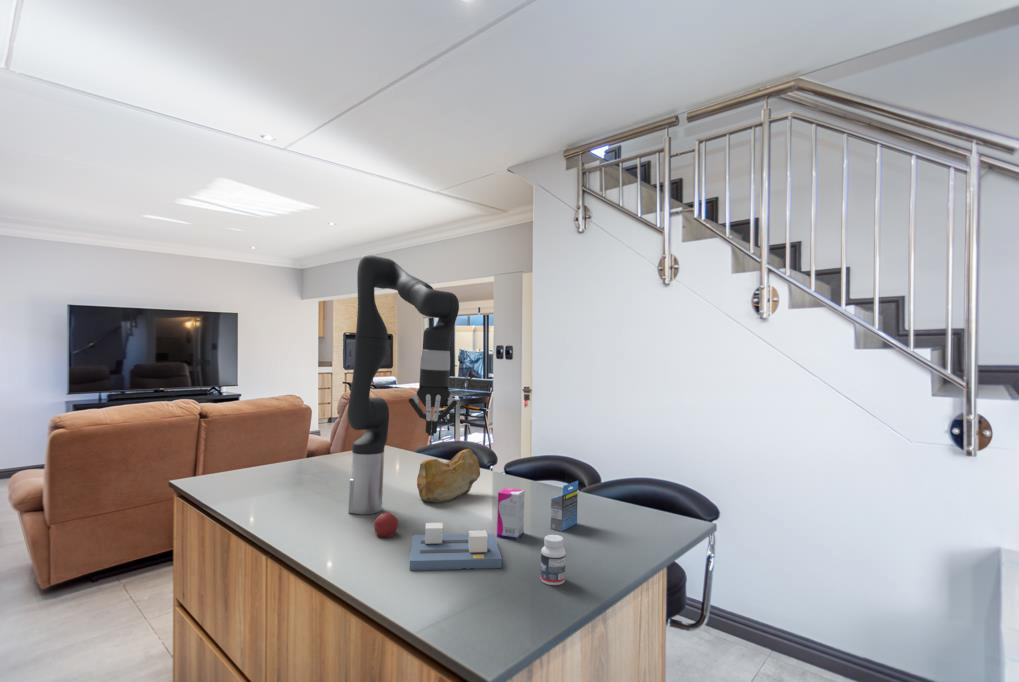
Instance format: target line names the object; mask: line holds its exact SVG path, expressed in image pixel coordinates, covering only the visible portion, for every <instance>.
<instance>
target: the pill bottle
mask: <svg viewBox="0 0 1019 682" xmlns="http://www.w3.org/2000/svg"><path fill="white" fill-rule="evenodd" d="M543 541H544V542H543V544H544V546H542V548H541V551H540V571H539V572H540V574H539V576H540V577H539V578H540V581H541V582H542V583H543V584H544V585H545V584H546V585H548V586H559V585H563V584H564V583H565V581H566V561H567V559H566V557H567V553H566V551H567V550H566V549H565V547H563V546H564V538H563V536H561V535H557V534H547V535H546V536H544V539H543Z"/></svg>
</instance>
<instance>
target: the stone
mask: <svg viewBox="0 0 1019 682" xmlns="http://www.w3.org/2000/svg"><path fill="white" fill-rule="evenodd" d="M480 475H481V467H480V463H479V459H478V457H477V456H476V455H475V453H474V452H473V450H472V449H470V448H465V449H462V450H461V451H459V452H458V453H456V454H455V455H454V456H453V457H452V458H451V459H450V460H449V461H446V462H443V461H440V460H439V459H438V458H430V459H425V460H423V461H421V462H420V464H419V469H418V474H417V476H416V477H417V478H416V486H417V487H416V488H417V489H418V494H419V497H420V499H421V500H422V499H423V501H424V502H429V501H430V502H429V503H438V502H447V501H451V500H453V499H454V498H456V497H459V496H464V495H463V494H466V495H467V494H468V493H470V491H471V489H472V487H473V484H474V483H475V482H477V480H478V479H479V478H480V477H481V476H480Z"/></svg>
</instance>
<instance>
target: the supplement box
mask: <svg viewBox="0 0 1019 682" xmlns="http://www.w3.org/2000/svg"><path fill="white" fill-rule="evenodd" d="M525 493H526V492H525V489H520V488H519V489H517V488H509V487H508V488H507V487H505V488H503V489H502V490H500V491H498V492H497V519H496V520H497V521H496V522H497V523H496V526H497V527H496V537H497V538H503V537H504V538H503V539H510V538H511V540H518V539H519V538H521V536H522V535H523V534H524V533H525V529H524V527H525V525H524V523H525Z"/></svg>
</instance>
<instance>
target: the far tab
mask: <svg viewBox="0 0 1019 682" xmlns="http://www.w3.org/2000/svg"><path fill="white" fill-rule="evenodd" d="M443 523H444V522H426V523H425V531H424V533H425V534H424V535H425V544H432V543H442V535H443V531H444V529H443V528H444V527H443Z"/></svg>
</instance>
